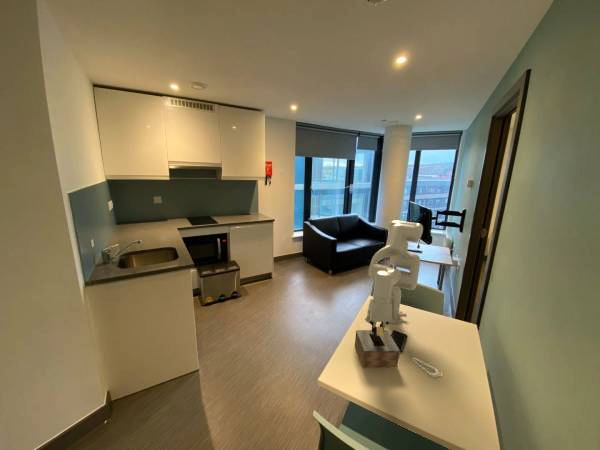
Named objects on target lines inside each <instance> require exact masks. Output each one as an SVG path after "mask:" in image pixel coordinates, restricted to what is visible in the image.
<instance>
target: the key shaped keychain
mask: <svg viewBox="0 0 600 450" xmlns="http://www.w3.org/2000/svg"><path fill="white" fill-rule="evenodd" d="M411 360H412V362H413V363H414V364H416V365H418V367H420V368H421V369H422V370H423V371H424V372H426V374H427V375H429V376H431V377H433V378H436V377H442V376H443V373H442V372H441V371H439V369H438V368H436V367H435V366H432V365H431V364H429V363H427V362H425V361H423V360H421V359H419V358H417V357H412V358H411ZM418 362H419V363H420V364H419V363H418ZM421 364H422V365H423V366H426V368H425V367H423V366H422V365H421ZM427 367H428V368H429V369H430V370H432V371H434V372H433V373H432V372H430V371H428V370H427Z"/></svg>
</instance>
